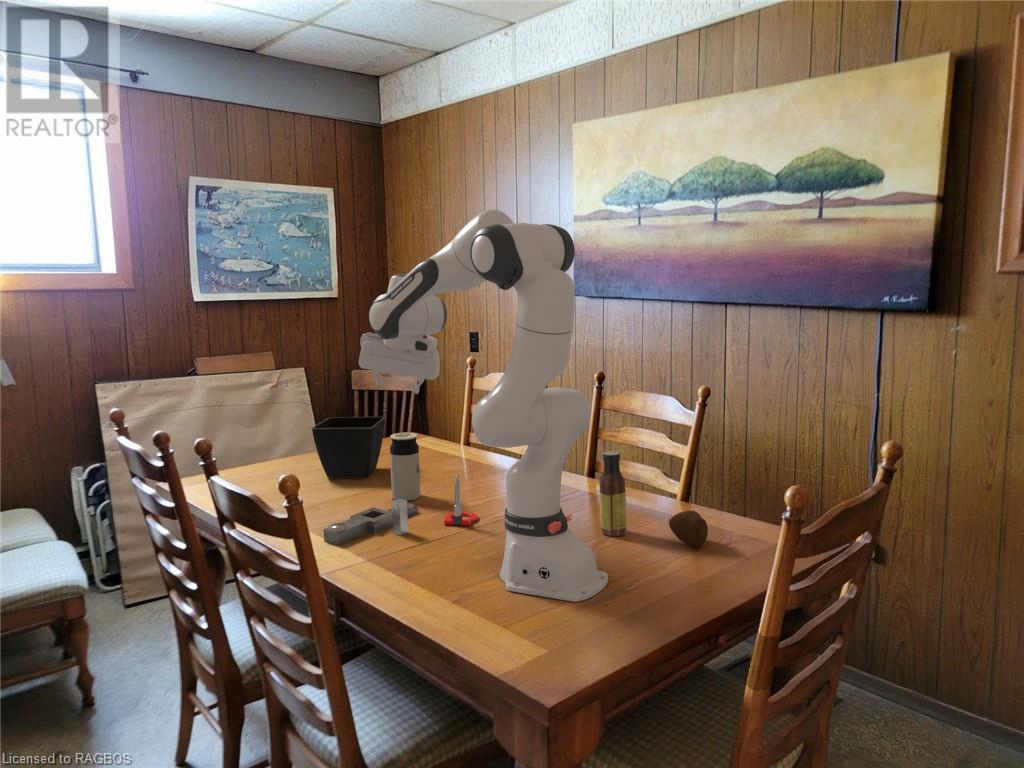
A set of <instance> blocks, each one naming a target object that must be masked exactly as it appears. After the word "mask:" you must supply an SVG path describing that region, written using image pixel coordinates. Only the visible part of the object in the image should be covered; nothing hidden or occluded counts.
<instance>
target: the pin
mask: <svg viewBox="0 0 1024 768" xmlns="http://www.w3.org/2000/svg"><path fill="white" fill-rule="evenodd" d="M407 502H408V501H407V500H402V499H397V500H395V499H394V500H392V501H391V509H392V522H393V526H392V534H394V535H399V536H403V535H405V534H407V533H409V521H408V517H409V516H408V514H407ZM402 534H403V535H402Z"/></svg>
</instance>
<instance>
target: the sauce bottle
mask: <svg viewBox="0 0 1024 768" xmlns="http://www.w3.org/2000/svg"><path fill="white" fill-rule="evenodd" d="M602 459H603V472H602V474H601V476H600V477H599V510H600V511H599V512H600V513H599V514H600V515H599V516H600V517H599V519H600V520H599V521H600V530H601V532H602V533H601V534H603V535H605V536H609V537H621V536H624V535H625V534H626V533H627V526H628V522H627V496H626V495H627V491H626V485H625V484H626V483H625V478H624V477H623V474H622V473H621V467H620V459H621V453H620V452H619V451H614V450H611V451H610V450H608V451H604V452H603V453H602Z"/></svg>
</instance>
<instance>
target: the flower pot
mask: <svg viewBox="0 0 1024 768" xmlns="http://www.w3.org/2000/svg"><path fill="white" fill-rule="evenodd" d="M385 421H386V417H385V416H344V417H343V416H341V417H340V416H339V417H337V416H336V417H335V416H334V417H328V418H325V419H324V420H323V421H321V422H319V423H317V424H315V426H313V427H311V432H312V436H313V441H314V444H315V448H316V452H317V455H318V458H319V461H320V463H321V466H322V468H323V471H324V473H325V476H326V477H327V478H329V479H366V478H369V477H370V475H371V474H372V473H373V472H374V471H375V470H376V469H377V466H378V462H379V459H380V455H381V450H382V446H383V445H382V444H383V439H384V433H385V423H386V422H385Z"/></svg>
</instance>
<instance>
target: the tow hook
mask: <svg viewBox="0 0 1024 768" xmlns="http://www.w3.org/2000/svg"><path fill="white" fill-rule="evenodd" d="M459 477H460V475H458V474H455V483H454V506H453V509H454V510H453V511H454V512H451V513H448V514H446V515H444V521H443V523H444V524H443V525H444V526H454V527H462V526H463V527H471V524H472V523H474V522H477V521H478V519H479V516H478V515H477V513H474V512H468V511H467V512H466V511H461V510H462V508H461V507H462V506H461V500H460V499H461V495H460V494H461V493H460V492H461V491H460V485H461V484H460V482H459V481H460V478H459ZM467 516H468V518H465V519H463V517H467Z"/></svg>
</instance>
